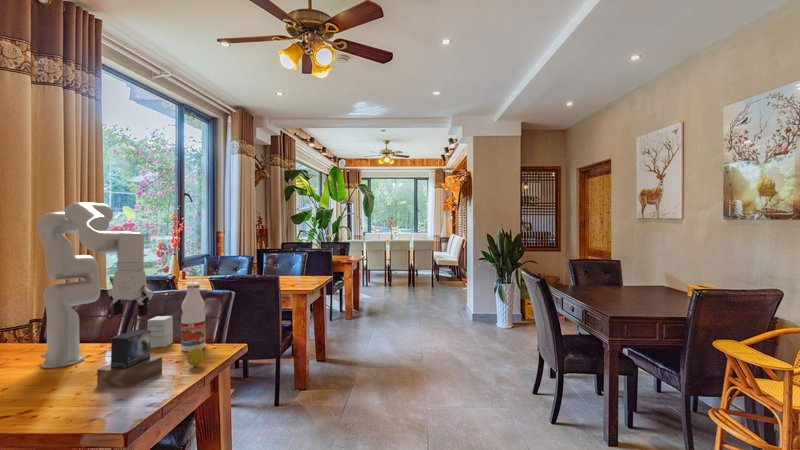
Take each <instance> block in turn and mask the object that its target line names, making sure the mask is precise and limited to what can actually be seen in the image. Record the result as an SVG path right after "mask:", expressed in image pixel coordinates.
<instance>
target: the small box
mask: <svg viewBox="0 0 800 450" xmlns="http://www.w3.org/2000/svg"><path fill="white" fill-rule="evenodd" d="M110 339H111V344H110V345H111V346H110V349H111V350H110V351H111V352H110V364H111V368H124V369H127V368H129V367H131V366H133V365H136V364H138V363H140V362H143V361H145V360H147V359H149V358H150V356H151V348H150V330H148V329H146V330H145V329H134V330H130V331H128V332H125V333H122V334H118V335H115V336H112V337H111V338H110Z"/></svg>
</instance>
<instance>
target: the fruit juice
mask: <svg viewBox="0 0 800 450" xmlns="http://www.w3.org/2000/svg"><path fill="white" fill-rule="evenodd" d="M200 288H201V287H200V284H194V283H193V284H188V285H187V286H186V289H187V291H186V294H185V297H184V299H183V301H182V302H181V311H182V314H181V318H180V338H181V339H180V346H181V347H180V348H181V351H183V352H188V351H189V350H190V349H191V348H193V347H194V346H197V347H200V348H201V349H202V350H203V349H204V348H205V347H206V312H205V311H204V310H205V307H206V302H205V300H204V299H203V296H202V295H201V292H200Z"/></svg>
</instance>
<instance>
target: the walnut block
mask: <svg viewBox="0 0 800 450" xmlns="http://www.w3.org/2000/svg"><path fill="white" fill-rule="evenodd" d="M96 370H97V372H96V374H97V376H96V377H97V383H96V387H104V388H105V387H106V388H114V389H115V388H116V389H126V390H127V389H129V388H132V387H134V386H136V385H139V384H140V383H143V382H144V381H147V380H149V379H151V378H153V377H155V376H157V375H159V373H160V374H162V373H163V357H162V356H153V355H152V356H151V355H150V358H149V359H147V360H145V361H143V362H140V363H138V364H136V365H133V366H131V367H129V368H127V369H124V368H111V363H110V364H109V365H108V364H107V365H105V366H103V367H100V368H97V369H96ZM161 372H162V373H161Z"/></svg>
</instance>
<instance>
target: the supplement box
mask: <svg viewBox="0 0 800 450" xmlns="http://www.w3.org/2000/svg"><path fill="white" fill-rule="evenodd" d="M173 323H174V322H173V315H164V316H163V315H162V316H161V315H159V316H154V317H153V318H150V319H147V330H150V349H157V348H156V347H165V348H166V347H167V346H169V345H171V344H172V343H174V341H173V340H174V339H173V338H174V336H173V335H174V330H173V329H174V328H173V326H174V325H173Z"/></svg>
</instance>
